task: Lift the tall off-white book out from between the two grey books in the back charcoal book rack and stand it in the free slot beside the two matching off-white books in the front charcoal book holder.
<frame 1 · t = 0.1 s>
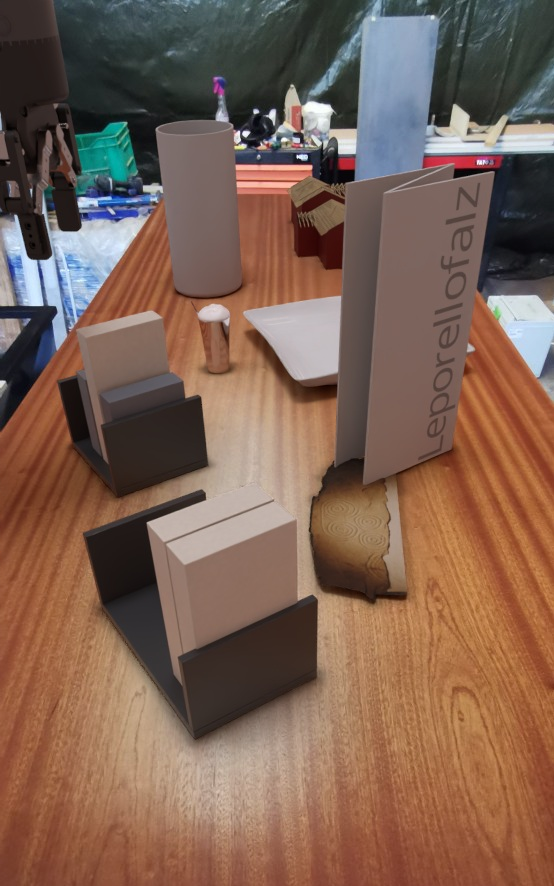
hand: (56, 244, 71), 26 cm above the table, tool pointing down, fingers open, 8 cm apart
toy houses: (345, 249, 150), on the table
book holder: (203, 640, 67), on the table
square plate: (351, 352, 113), on the table
cylinder vase: (208, 287, 135), on the table
parchment: (355, 526, 80), on the table, touching brochure
milkshake: (215, 370, 110), on the table
brochure: (393, 459, 89), on the table, touching parchment
white book: (142, 452, 90), point 1 cm above the table, touching grey rack
grey rack: (139, 455, 92), on the table
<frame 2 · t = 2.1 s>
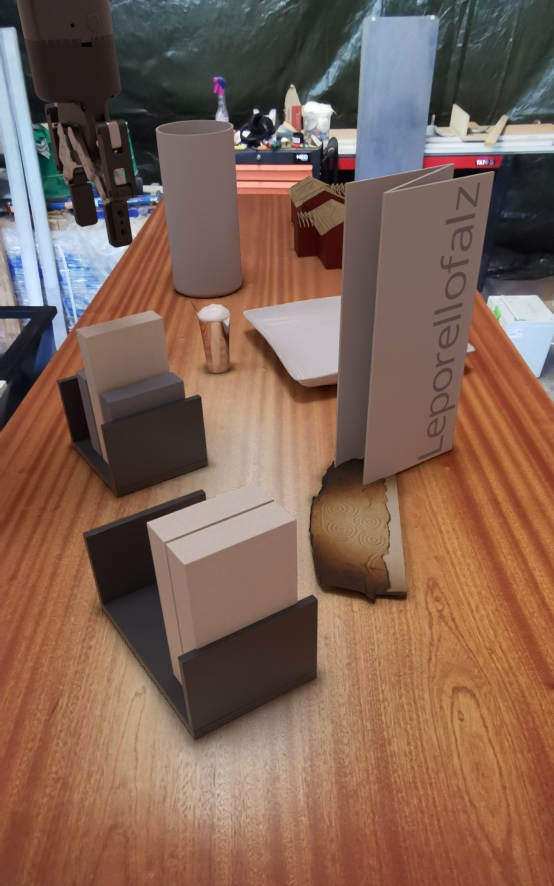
hand: (104, 235, 73), 26 cm above the table, tool pointing down, fingers open, 8 cm apart
nothing on the table moved.
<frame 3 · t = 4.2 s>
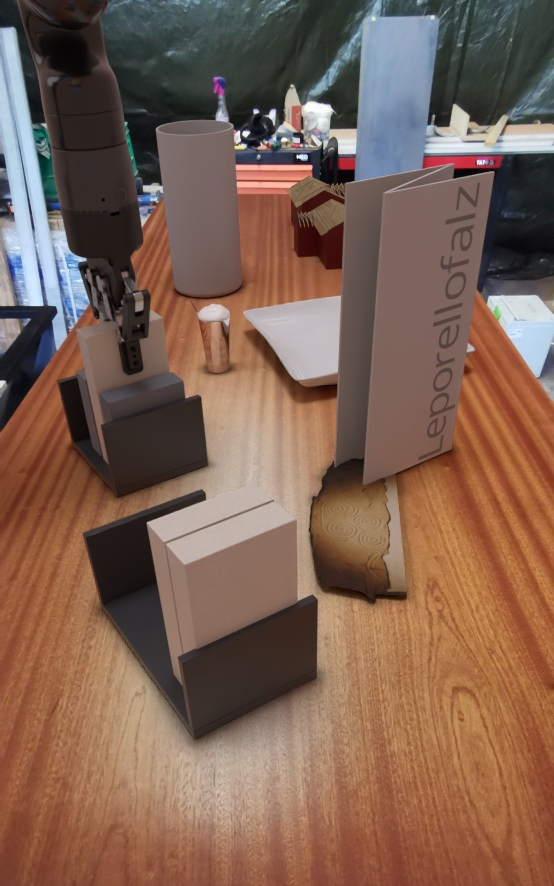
hand: (127, 366, 83), 12 cm above the table, tool pointing down, fingers closed on white book, 3 cm apart
white book: (142, 452, 90), point 1 cm above the table, touching grey rack, gripper
everything else where it was.
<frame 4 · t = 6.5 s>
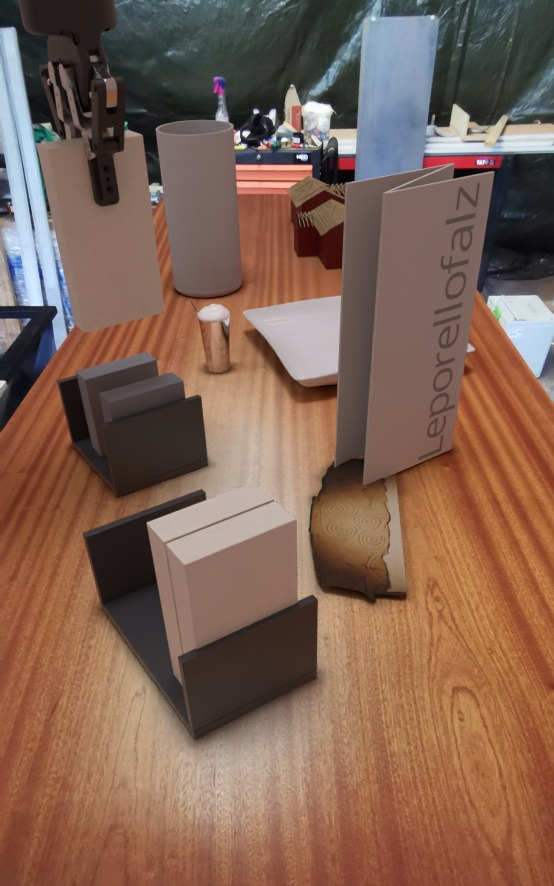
hand: (100, 199, 69), 30 cm above the table, tool pointing down, fingers closed on white book, 3 cm apart
white book: (120, 318, 76), point 19 cm above the table, touching gripper
everything else where it was.
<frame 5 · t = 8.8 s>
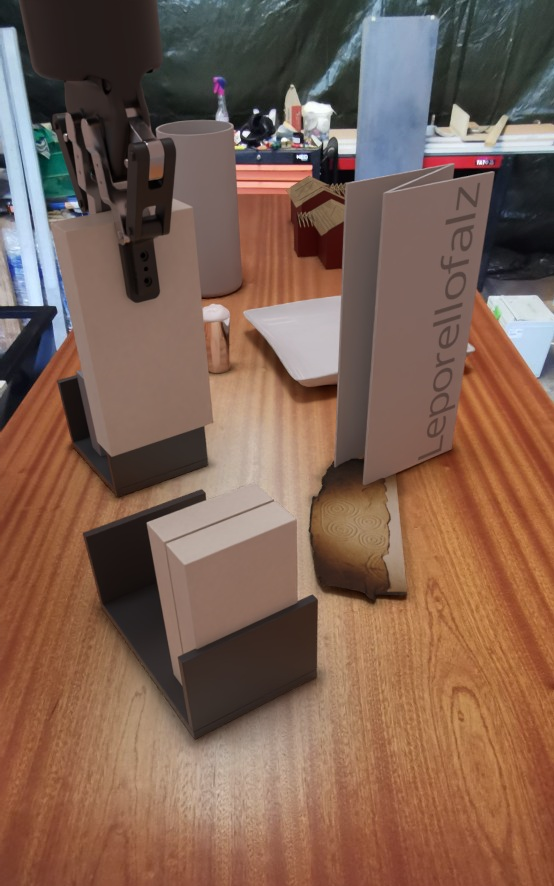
hand: (133, 290, 51), 29 cm above the table, tool pointing down, fingers closed on white book, 3 cm apart
white book: (156, 432, 59), point 18 cm above the table, touching gripper
everything else where it was.
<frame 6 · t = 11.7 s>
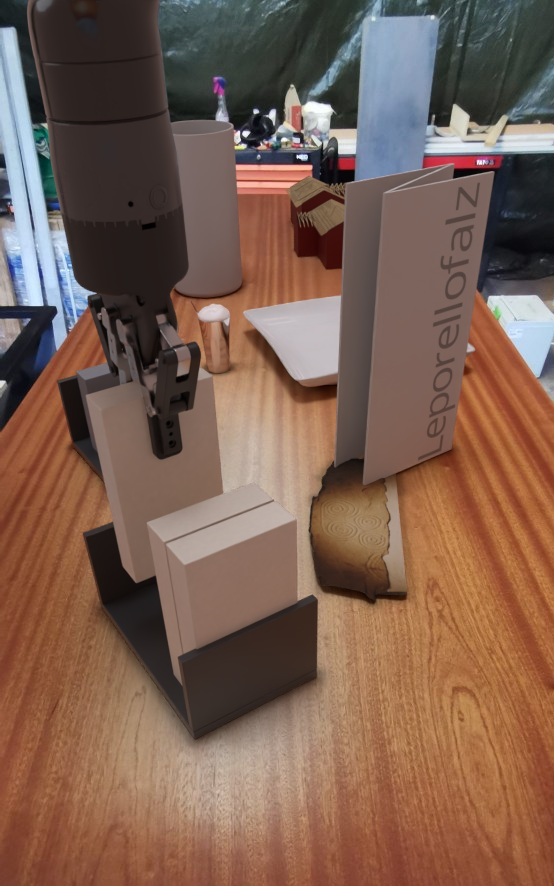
hand: (158, 444, 57), 19 cm above the table, tool pointing down, fingers closed on white book, 3 cm apart
white book: (176, 556, 65), point 7 cm above the table, touching gripper
everything else where it was.
when the fingers open (12 cm above the table, at t = 13.7 s): white book stays where it is, resting on book holder.
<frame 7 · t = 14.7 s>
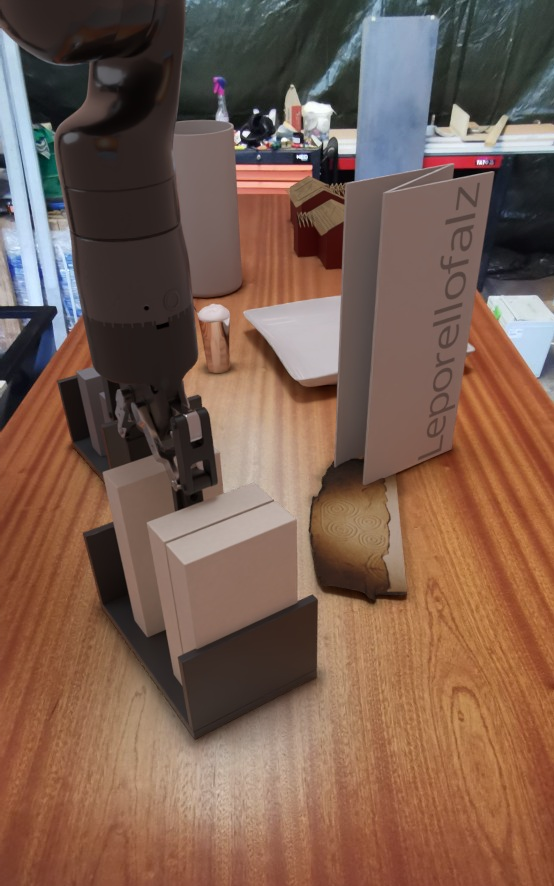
hand: (167, 498, 60), 14 cm above the table, tool pointing down, fingers open, 8 cm apart
white book: (184, 610, 69), point 1 cm above the table, touching book holder
everything else where it was.
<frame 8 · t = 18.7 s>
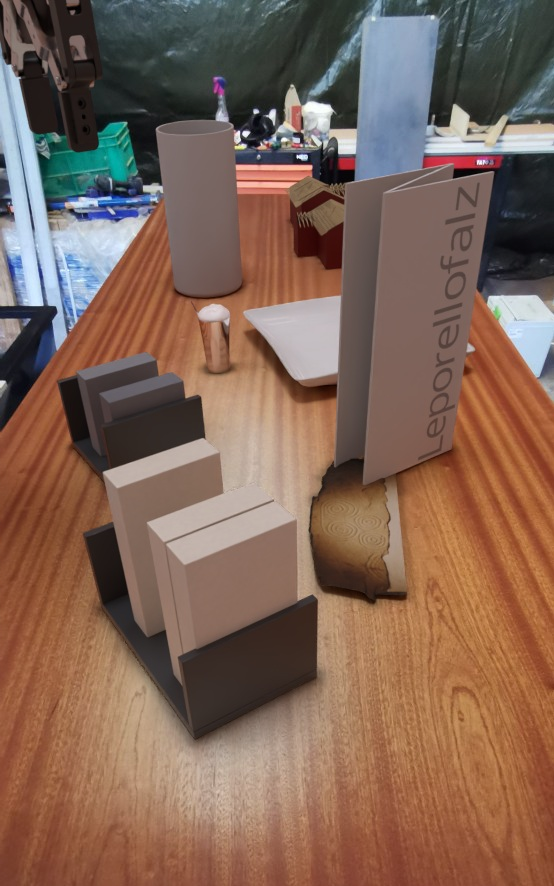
hand: (64, 141, 57), 36 cm above the table, tool pointing down, fingers open, 8 cm apart
nothing on the table moved.
at the end: white book 0.1 cm from the target spot on the book holder, point 1.0 cm above the book holder's base; white book tilted 0°; the gripper is holding nothing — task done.
